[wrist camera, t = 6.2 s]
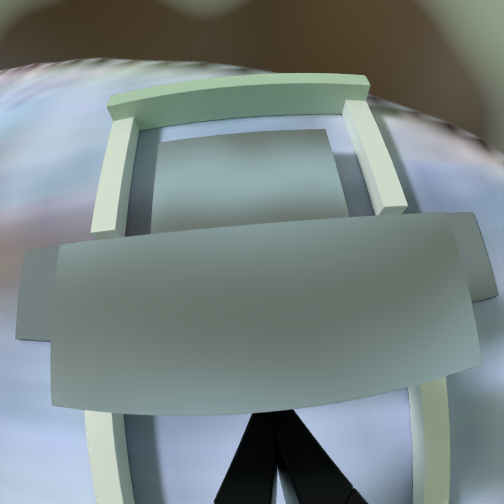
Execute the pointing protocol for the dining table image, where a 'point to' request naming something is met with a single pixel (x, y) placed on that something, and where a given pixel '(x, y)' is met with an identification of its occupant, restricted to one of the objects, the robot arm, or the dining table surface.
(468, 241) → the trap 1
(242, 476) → the robot arm
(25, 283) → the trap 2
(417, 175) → the dining table surface
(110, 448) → the pale green open frame
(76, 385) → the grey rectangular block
